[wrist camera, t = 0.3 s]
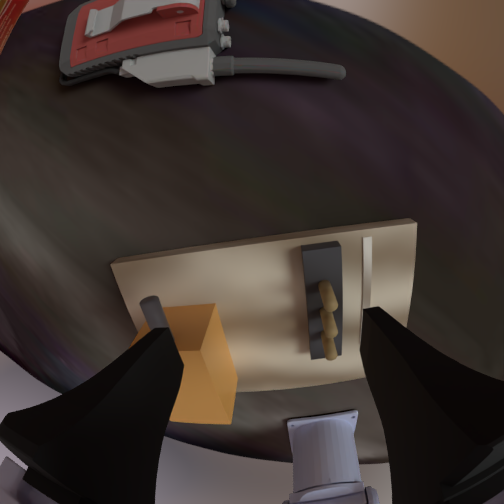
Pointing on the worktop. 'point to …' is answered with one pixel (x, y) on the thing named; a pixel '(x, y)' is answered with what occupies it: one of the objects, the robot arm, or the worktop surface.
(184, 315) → the socket block
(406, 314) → the board
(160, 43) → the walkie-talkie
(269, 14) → the worktop surface
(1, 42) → the medicine box
